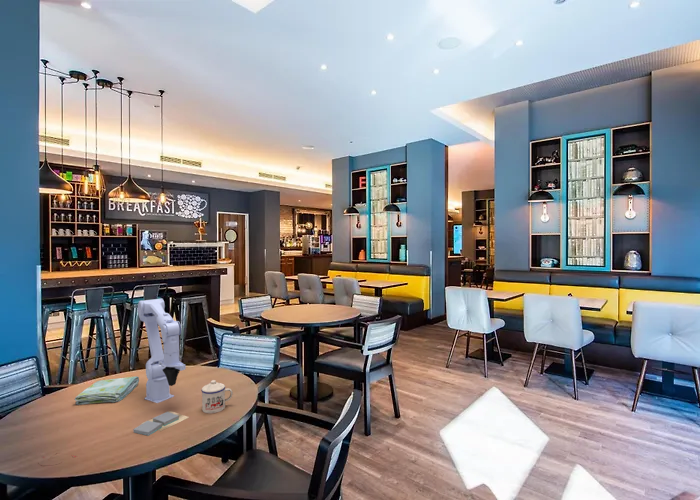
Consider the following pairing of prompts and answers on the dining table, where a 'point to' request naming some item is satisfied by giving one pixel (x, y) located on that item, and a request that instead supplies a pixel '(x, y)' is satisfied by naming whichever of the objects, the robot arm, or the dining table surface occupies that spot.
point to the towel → (107, 390)
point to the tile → (166, 418)
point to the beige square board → (181, 418)
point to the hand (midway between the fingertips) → (172, 384)
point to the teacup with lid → (214, 397)
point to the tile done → (147, 428)
